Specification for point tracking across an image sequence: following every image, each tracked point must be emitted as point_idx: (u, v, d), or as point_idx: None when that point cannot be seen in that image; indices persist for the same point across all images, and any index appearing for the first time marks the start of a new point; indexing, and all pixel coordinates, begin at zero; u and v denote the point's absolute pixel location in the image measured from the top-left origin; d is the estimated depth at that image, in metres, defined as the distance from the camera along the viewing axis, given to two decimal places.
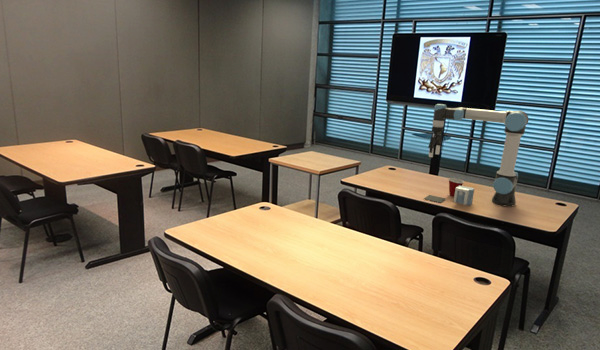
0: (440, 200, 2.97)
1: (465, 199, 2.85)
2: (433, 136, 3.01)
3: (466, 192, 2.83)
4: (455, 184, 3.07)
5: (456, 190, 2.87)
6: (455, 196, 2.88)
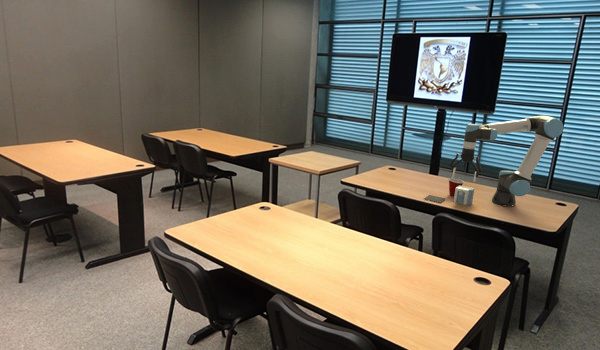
0: (440, 200, 2.97)
1: (465, 199, 2.85)
2: None
3: (466, 192, 2.83)
4: (455, 184, 3.07)
5: (456, 190, 2.87)
6: (455, 196, 2.88)
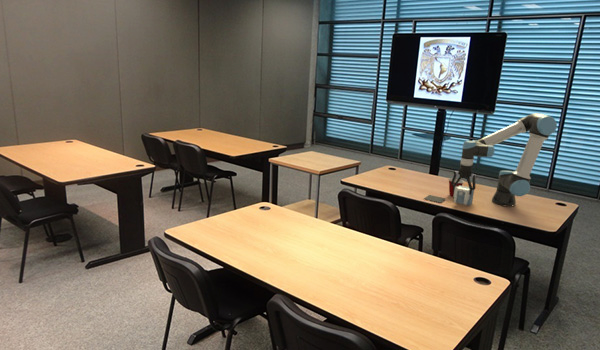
0: (440, 200, 2.97)
1: (465, 199, 2.85)
2: None
3: (466, 192, 2.83)
4: None
5: (456, 190, 2.87)
6: (455, 196, 2.88)
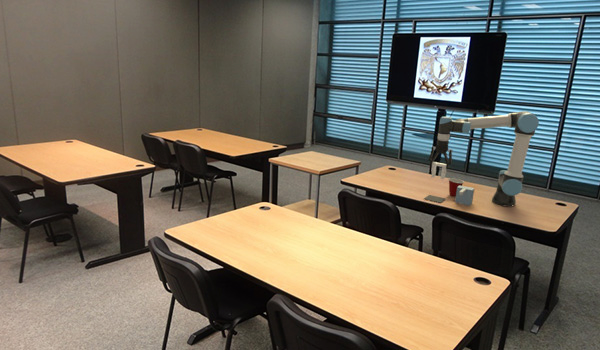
0: (440, 200, 2.97)
1: (442, 173, 2.94)
2: None
3: (443, 167, 2.92)
4: (455, 184, 3.07)
5: (433, 165, 2.96)
6: (433, 171, 2.97)
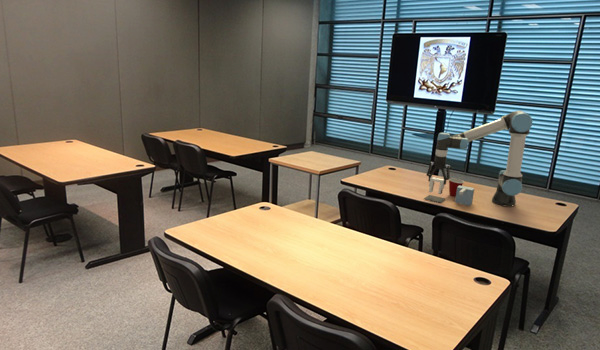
0: (440, 200, 2.97)
1: (440, 189, 2.96)
2: None
3: (441, 182, 2.95)
4: (455, 184, 3.07)
5: (431, 180, 2.99)
6: (430, 186, 3.00)
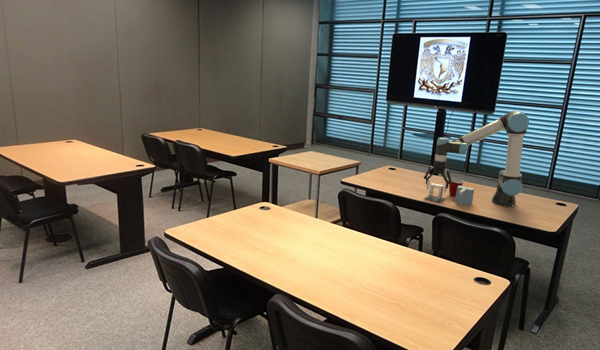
0: (440, 200, 2.97)
1: (439, 195, 2.97)
2: None
3: (440, 188, 2.96)
4: (455, 184, 3.07)
5: (431, 186, 3.00)
6: (430, 192, 3.01)
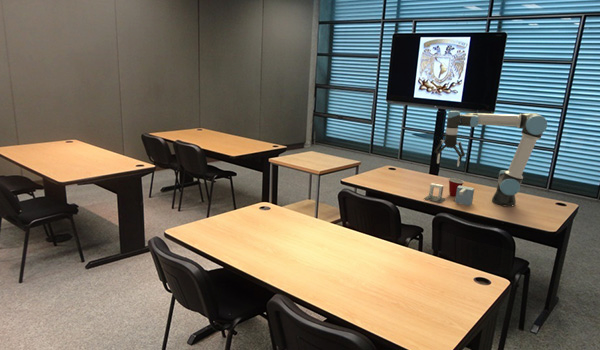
0: (440, 200, 2.97)
1: (439, 195, 2.97)
2: None
3: (440, 188, 2.96)
4: (455, 184, 3.06)
5: (431, 186, 3.00)
6: (430, 192, 3.01)
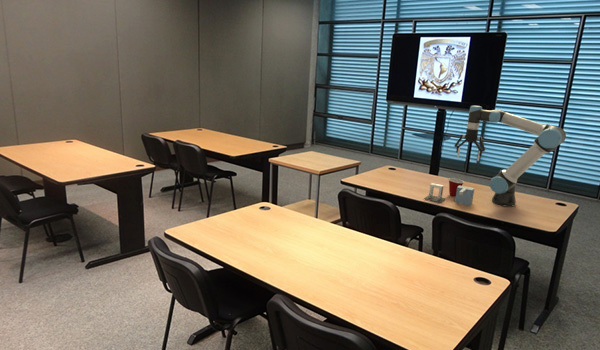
0: (440, 200, 2.97)
1: (439, 195, 2.97)
2: None
3: (440, 188, 2.96)
4: (455, 184, 3.07)
5: (431, 186, 3.00)
6: (430, 192, 3.01)
